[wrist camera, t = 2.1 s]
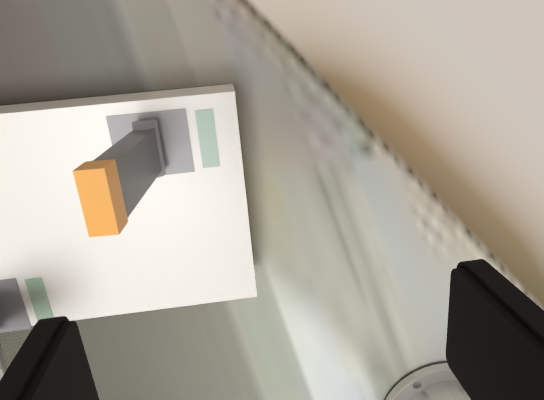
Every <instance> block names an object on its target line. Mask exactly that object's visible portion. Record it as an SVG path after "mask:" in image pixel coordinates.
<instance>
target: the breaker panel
mask: <svg viewBox="0 0 544 400" xmlns="http://www.w3.org/2000/svg"><path fill="white" fill-rule="evenodd" d="M145 119H156V120H157V123H158V129H159V135H160V140H161V146H162V152H163V158H164V164H165V169H166V174H165V175H164V176H161V177H158V178H156V179H155V181H154V182H153V183H152V185H151V186H150V188H149V189H148V190H147V192H146V193H145V195H144V196H143V197H142V199H141V200H140V201H139V203H138V204H137V206H136V207H135V208H134V210H133V211H132V213H131V214H130V215H129V217H128V223H127V224H126V226H125V227H124V229H123V230H122V231H121V233H120V234H119V235H110V236H98V237H89V235H88V231H87V227H86V223H85V219H84V215H83V211H82V207H81V203H80V199H79V195H78V191H77V187H76V183H75V179H74V175H73V170H74V169H76V168H77V167H79V166H80V165H81V164H83V163H84V162H86V161H93V160H94V159H96V158H97V157H98V156H100V155H101V154H102V153H103V152H105V151H106V150H107V149H109V148H110V147H111V146H113V145H114V144H115V143H117V142H118V141H119V140H120V139H122V138H123V137H124V136H126V135H127V134H128V133H130V132H131V131H132V130H133V128H132V122H135V121H139V120H145ZM250 297H257V292H256V282H255V273H254V264H253V255H252V245H251V236H250V227H249V218H248V208H247V199H246V190H245V181H244V171H243V162H242V153H241V144H240V134H239V125H238V116H237V107H236V97H235V90H234V86H233V84H225V85H214V86H204V87H193V88H183V89H172V90H161V91H151V92H140V93H130V94H119V95H109V96H98V97H87V98H77V99H66V100H56V101H45V102H35V103H24V104H13V105H3V106H0V333H2V332H10V331H18V330H25V329H32V326H33V325H35V324H36V323H37V322H38V320H40V319H45V318H53V317H60V316H66V317H67V318H68V319H69V321H72V320H80V319H87V318H95V317H103V316H111V315H119V314H126V313H134V312H142V311H150V310H157V309H165V308H173V307H181V306H188V305H196V304H204V303H212V302H219V301H227V300H235V299H243V298H250Z"/></svg>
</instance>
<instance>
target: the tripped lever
mask: <svg viewBox="0 0 544 400" xmlns="http://www.w3.org/2000/svg"><path fill="white" fill-rule="evenodd" d="M132 128H133V130H132V131H131V132H130V133H128V134H127V135H126V136H124V137H123V138H122V139H120V140H119V141H118V142H117V143H115V144H114V145H113V146H111V147H110V148H109V149H107V150H106V151H105V152H103V153H102V154H101V155H100V156H98V157H97V158H96V159H94V160H93V161H86V162H84V163H83V164H81V165H80V166H79V167H77V168H76V169H74V170H73V175H74V179H75V183H76V187H77V191H78V195H79V199H80V203H81V207H82V211H83V215H84V219H85V223H86V227H87V231H88V235H89V237H98V236H110V235H119V234H120V233H121V231H122V230H123V229H124V227H125V226H126V224H127V223H128V217H129V215H130V214H131V213H132V211H133V210H134V208H135V207H136V206H137V204H138V203H139V201H140V200H141V199H142V197H143V196H144V195H145V193H146V192H147V190H148V189H149V188H150V186H151V185H152V183H153V182H154V181H155V179H156V178H158V177H161V176H164V175H165V174H166V169H165V164H164V158H163V152H162V146H161V140H160V135H159V129H158V123H157V120H156V119H145V120H139V121H135V122H132Z"/></svg>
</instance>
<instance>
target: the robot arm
mask: <svg viewBox="0 0 544 400" xmlns="http://www.w3.org/2000/svg"><path fill="white" fill-rule="evenodd" d="M446 359H447V363H441V364H434V365H431V366H428V367H424V368H422V369H420V370H417V371H415V372H413V373H412V374H410V375H408V376H407V377H405V378H404V379H403V380H402V381H400V382H399V383H398V384H397V385H396V386H395V387H394V388H393V389H392V391H391V392H390V393H389V394H388V396H387V398H386V400H544V311H543V310H542V309H541V308H540V307H539V306H538V305H536V304H535V303H534V302H533V301H532V300H531V299H530V298H528V297H527V296H526V295H525V294H524V293H523V292H521V291H520V290H519V289H518V288H517V287H516V286H514V285H513V284H512V283H511V282H510V281H509V280H507V279H506V278H505V277H504V276H503V275H502V274H500V273H499V272H498V271H497V270H496V269H495V268H493V267H492V266H491V265H490V264H489V263H488V262H486V261H485V260H483V259H479V260H472V261H464V262H460V263H458V265H457V268H455V269H453V270H452V272H451V281H450V297H449V312H448V328H447V344H446ZM0 400H99V397H98V394H97V391H96V387H95V384H94V380H93V377H92V374H91V370H90V367H89V363H88V360H87V357H86V353H85V350H84V346H83V343H82V339H81V336H80V333H79V329H78V326H77V323H76V322H75V321H69V319H68V318H67V317H66V316H60V317H53V318H45V319H40V320H38V322H37V323H36V324H35V326H34V327H33V329H32V331H31V332H30V334H29V335H28V337H27V339H26V340H25V342H24V343H23V345H22V347H21V348H20V350H19V351H18V353H17V354H16V356H15V358H14V359H13V361H12V362H11V364H10V366H9V367H8V369H7V370H6V372H5V374H4V375H3V377H2V378H1V380H0Z"/></svg>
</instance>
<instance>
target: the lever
mask: <svg viewBox="0 0 544 400" xmlns="http://www.w3.org/2000/svg"><path fill="white" fill-rule="evenodd" d="M6 370H7V369H6V365H5V361H4V357H3V353H2V348H1V344H0V380H1V378H2V377H3V375H4V374H5V372H6Z"/></svg>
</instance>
